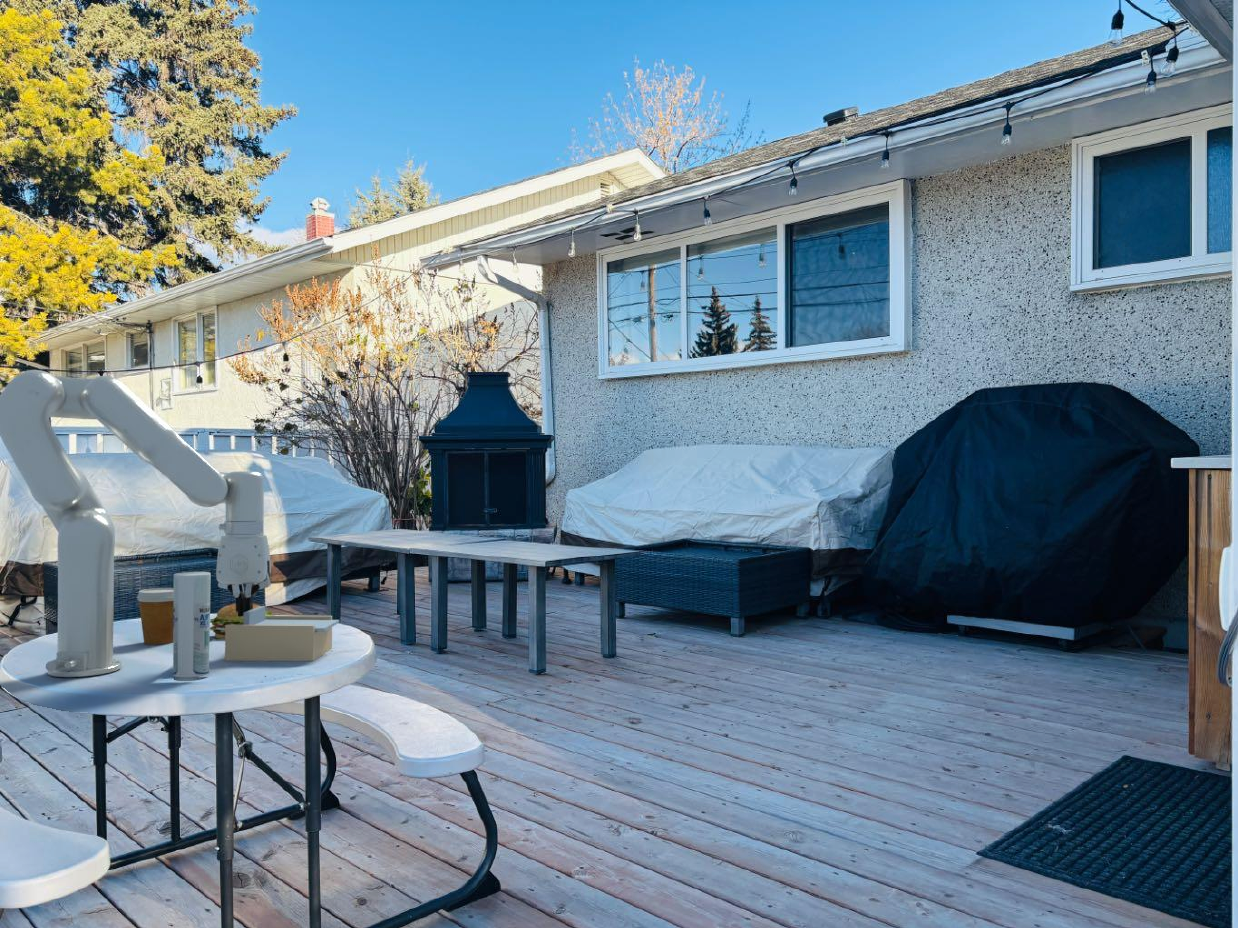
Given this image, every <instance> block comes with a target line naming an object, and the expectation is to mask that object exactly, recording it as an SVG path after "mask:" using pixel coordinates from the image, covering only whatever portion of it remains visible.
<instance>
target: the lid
mask: <svg viewBox="0 0 1238 928" xmlns="http://www.w3.org/2000/svg"><path fill="white" fill-rule="evenodd" d="M266 608H267V607H266V605H262V606H261V605H259V607H257V608H254V609H252V610H249V611H247V612H244V625H315V631H326V630H327V629H329V628H331V627H332V628H333V627H334V626H336V625H337V624H339V623H340V619H332V620H279V619H265V612H266V611H267V609H266Z"/></svg>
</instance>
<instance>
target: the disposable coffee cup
mask: <svg viewBox="0 0 1238 928" xmlns="http://www.w3.org/2000/svg"><path fill="white" fill-rule="evenodd" d="M136 599H137V601H138V606H139V612H140V613H139V614H140V621H141V628H142V629H141V630H142V636H143V644H144V645H149V646H157V645H158V646H159V645H167V644H173V610H174V587H155V588H153V587H152V588H146V589H139V591H138V594H137V596H136Z"/></svg>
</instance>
